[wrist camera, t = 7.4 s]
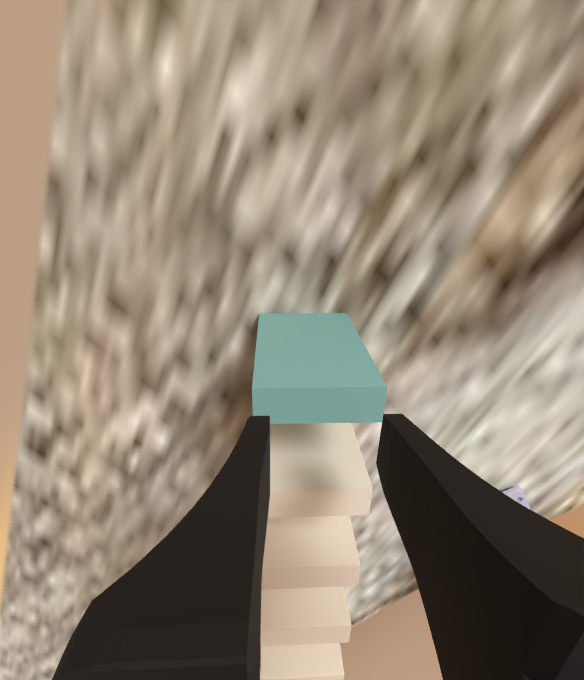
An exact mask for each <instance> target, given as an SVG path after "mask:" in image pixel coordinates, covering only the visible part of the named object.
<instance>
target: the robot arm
mask: <svg viewBox="0 0 584 680" xmlns="http://www.w3.org/2000/svg"><path fill="white" fill-rule="evenodd" d="M376 464H377V468H378V472H379V477H380V481H381V484H382V488H383V492H384V495H385V497H386V500H387V503H388V505H389V508H390V511H391V513H392V516H393V518H394V521H395V523H396V526H397V529H398V531H399V534H400V536H401V539H402V541H403V544H404V546H405V549H406V552H407V554H408V557H409V559H410V562H411V565H412V568H413V571H414V574H415V577H416V580H417V584H418V587H419V591H420V594H421V597H422V601H423V604H424V608H425V612H426V615H427V619H428V623H429V626H430V630H431V634H432V638H433V641H434V645H435V649H436V653H437V657H438V661H439V664H440V669H441V673H442V677H443V680H584V538H582V537H580V536H578V535H576V534H574V533H572V532H570V531H568V530H566V529H564V528H562V527H560V526H559V525H557V524H555V523H553V522H551V521H549V520H548V519H546V518H544V517H542V516H540V515H539V514H537V513H535V512H533V511H532V510H530V507H529V505H528V502H527V499H526V497H525V494H524V492H523V491H522V489H521V488H519V487H513V488H510V489H508V490H505V491H503V492H501V491H499V490H498V489H496V488H495V487H493V486H492V485H490V484H489V483H487V482H486V481H484V480H483V479H481V478H480V477H479V476H477V475H476V474H475V473H473V472H472V471H471V470H469V469H468V468H467V467H465V466H464V465H463V464H461V463H460V462H459V461H457V460H456V459H455V458H454V457H452V456H451V455H450V454H449V453H447V452H446V451H445V450H444V449H443V448H441V447H440V446H439V445H438V444H437V443H435V442H434V441H433V440H432V439H431V438H429V437H428V436H427V435H426V434H425V433H424V432H423V431H421V430H420V429H419V428H418V427H417V426H416V425H414V424H413V423H412V422H411V421H410V420H409V419H407V418H406V417H405V416H404V415H403V414H383V421H382V428H381V434H380V441H379V448H378V454H377V461H376ZM269 500H270V416H250V417H249V418H248V419H247V422H246V425H245V427H244V430H243V432H242V434H241V436H240V438H239V440H238V442H237V444H236V446H235V447H234V449H233V451H232V453H231V454H230V456H229V458H228V460H227V461H226V463H225V464H224V466H223V467H222V469H221V470H220V472H219V473H218V475H217V476H216V478H215V479H214V481H213V482H212V484H211V485H210V486H209V488H208V489H207V490H206V492H205V493H204V494H203V495H202V497H201V498H200V499H199V500H198V502H197V503H196V504H195V505H194V507H193V508H192V509H191V510H190V511H189V512H188V513H187V514H186V516H185V517H184V518H183V519H182V520H181V521H180V522H179V523H178V525H177V526H176V527H175V528H174V529H173V530H172V531H171V532H170V533H169V534H168V535H167V536H166V537H165V538H164V539H163V540H162V541H161V542H160V543H159V544H158V545H156V546H155V547H154V548H153V549H152V550H151V551H150V552H149V553H148V554H147V555H146V556H145V557H144V558H143V559H142V560H141V561H140V562H138V563H137V564H136V565H135V566H134V567H133V568H132V569H130V570H129V571H128V572H127V573H125V574H124V575H123V576H122V577H121V578H119V579H118V580H117V581H116V582H115V583H113V584H112V585H111V586H110V587H108V588H107V589H106V590H105V591H104V592H102V593H101V594H100V595H99V596H97V597H96V598H95V599H93V600H92V602H91V603H90V605H89V607H88V608H87V610H86V612H85V613H84V615H83V617H82V619H81V620H80V622H79V624H78V626H77V628H76V629H75V631H74V633H73V635H72V636H71V638H70V640H69V642H68V644H67V647H66V649H65V651H64V653H63V655H62V658H61V660H60V662H59V665H58V667H57V669H56V672H55V674H54V676H53V678H52V680H260V635H261V588H262V569H263V558H264V548H265V539H266V529H267V520H268V510H269Z"/></svg>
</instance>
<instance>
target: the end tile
mask: <svg viewBox="0 0 584 680" xmlns="http://www.w3.org/2000/svg"><path fill="white" fill-rule="evenodd" d="M386 391H387V386H386V384H385V382H384V380H383V378H382V377H381V375H380V373H379V371H378V369H377V367H376V366H375V364H374V362H373V360H372V358H371V357H370V355H369V353H368V351H367V349H366V348H365V346H364V344H363V342H362V340H361V338H360V337H359V335H358V333H357V331H356V329H355V328H354V326H353V324H352V322H351V320H350V319H349V317H348V315H347V313H259V320H258V331H257V341H256V351H255V361H254V372H253V382H252V407H253V416H270V424H301V423H357V422H382V419H383V412H384V405H385V398H386Z"/></svg>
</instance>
